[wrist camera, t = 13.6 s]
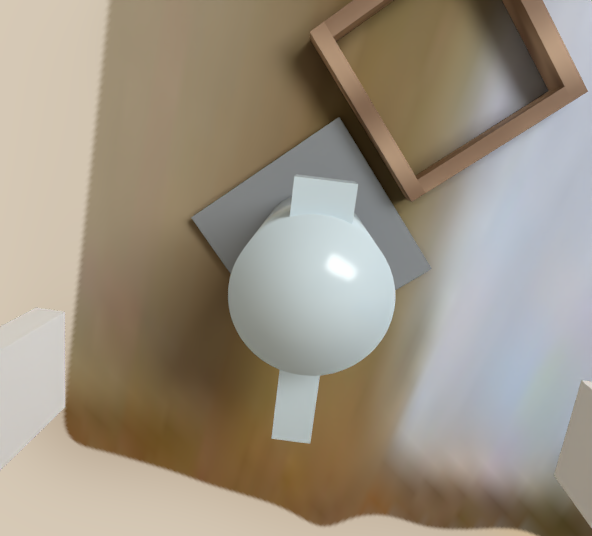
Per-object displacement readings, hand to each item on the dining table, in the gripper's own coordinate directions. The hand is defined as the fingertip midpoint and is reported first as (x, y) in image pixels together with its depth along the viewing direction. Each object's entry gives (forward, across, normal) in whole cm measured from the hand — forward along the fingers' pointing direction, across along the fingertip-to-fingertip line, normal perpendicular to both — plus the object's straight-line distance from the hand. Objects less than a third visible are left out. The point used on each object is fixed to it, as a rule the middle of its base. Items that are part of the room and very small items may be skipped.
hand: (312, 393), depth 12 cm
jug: (+21, -1, -2) cm, 21 cm away
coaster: (+21, -1, 0) cm, 21 cm away
